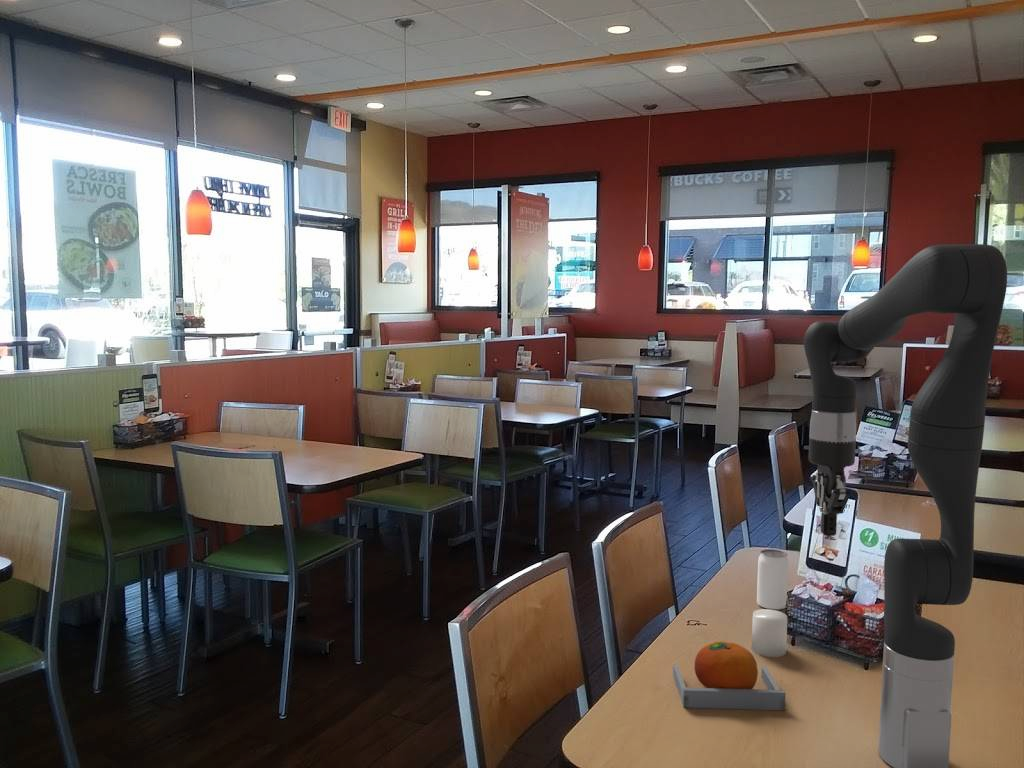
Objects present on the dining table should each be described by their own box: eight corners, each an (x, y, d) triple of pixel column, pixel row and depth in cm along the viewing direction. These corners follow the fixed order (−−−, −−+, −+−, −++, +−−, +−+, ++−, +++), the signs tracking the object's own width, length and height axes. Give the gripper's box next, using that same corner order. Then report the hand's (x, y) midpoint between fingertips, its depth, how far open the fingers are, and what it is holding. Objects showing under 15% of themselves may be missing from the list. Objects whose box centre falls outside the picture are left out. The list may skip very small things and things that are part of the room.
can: (756, 608, 182) (758, 555, 181) (756, 598, 188) (758, 547, 187) (787, 612, 180) (789, 558, 179) (786, 601, 186) (788, 550, 185)
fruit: (763, 686, 145) (765, 642, 144) (748, 711, 136) (749, 665, 135) (704, 672, 151) (705, 630, 150) (685, 695, 142) (687, 650, 141)
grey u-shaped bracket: (784, 710, 137) (785, 692, 136) (683, 707, 137) (684, 690, 137) (765, 677, 149) (766, 661, 148) (673, 675, 149) (673, 659, 149)
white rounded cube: (790, 657, 157) (791, 622, 156) (756, 656, 157) (757, 621, 157) (780, 643, 163) (782, 609, 163) (748, 642, 164) (749, 608, 163)
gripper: (869, 443, 136) (864, 545, 138) (840, 431, 149) (836, 524, 151) (823, 442, 136) (819, 545, 138) (798, 430, 149) (795, 524, 151)
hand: (828, 534), depth 144 cm, fingers closed
